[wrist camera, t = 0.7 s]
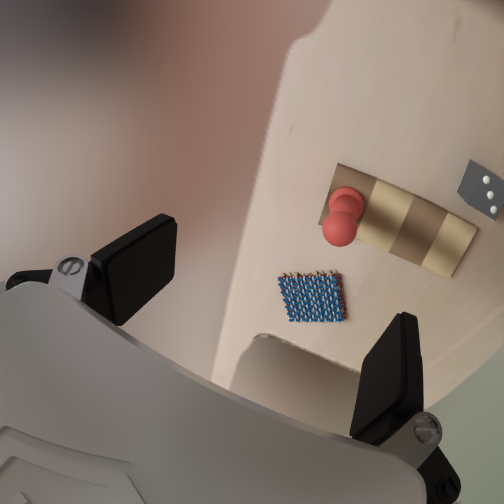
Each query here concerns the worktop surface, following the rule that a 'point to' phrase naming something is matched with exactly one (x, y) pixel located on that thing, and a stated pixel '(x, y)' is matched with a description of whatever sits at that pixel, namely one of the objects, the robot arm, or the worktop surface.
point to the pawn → (343, 216)
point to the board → (405, 222)
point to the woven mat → (313, 297)
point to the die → (482, 190)
